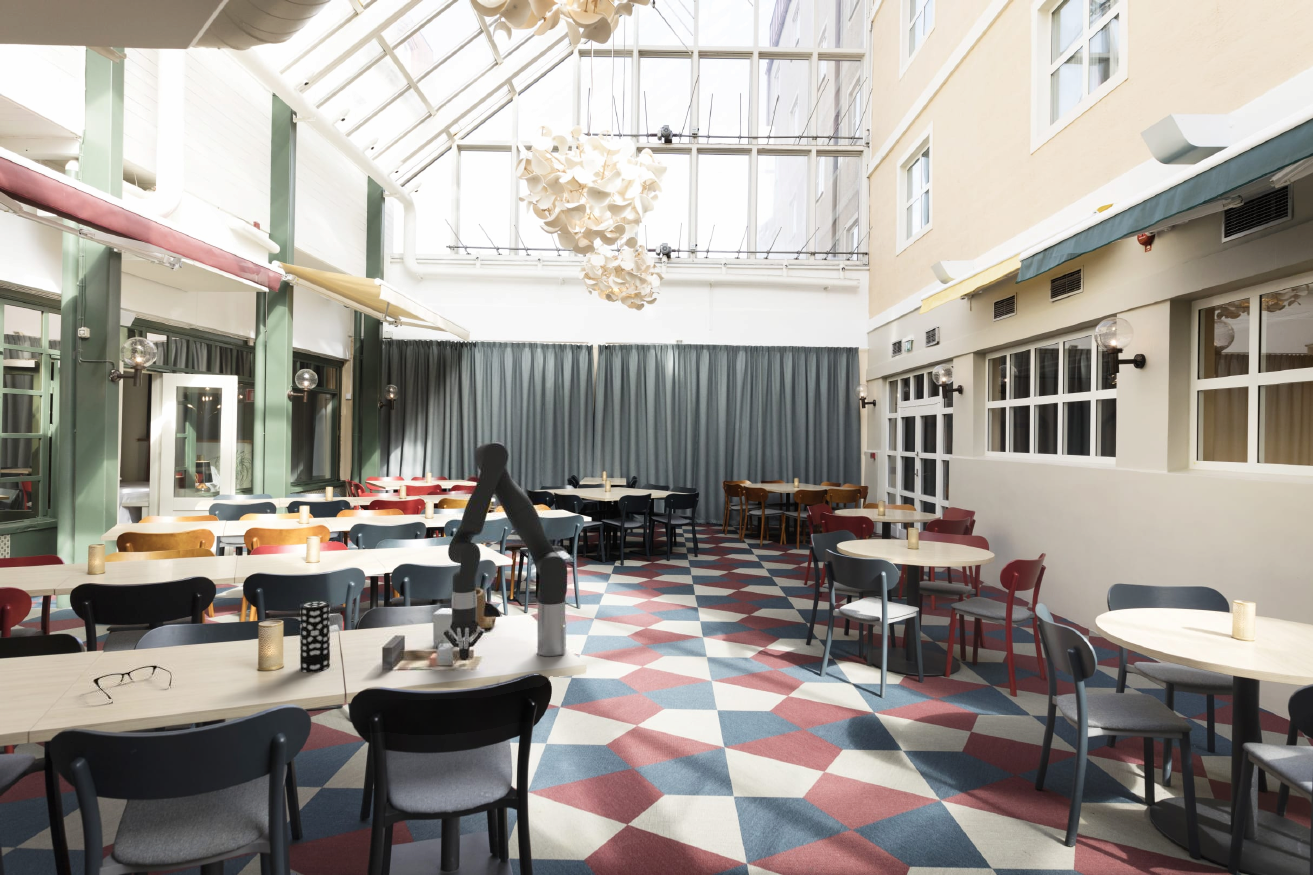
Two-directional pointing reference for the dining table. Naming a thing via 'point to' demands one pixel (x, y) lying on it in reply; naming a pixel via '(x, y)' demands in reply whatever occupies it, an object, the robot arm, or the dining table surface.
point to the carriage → (446, 653)
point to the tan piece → (481, 619)
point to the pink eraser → (433, 659)
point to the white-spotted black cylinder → (314, 636)
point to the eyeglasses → (128, 675)
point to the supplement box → (442, 625)
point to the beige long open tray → (419, 658)
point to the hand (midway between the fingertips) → (464, 659)
